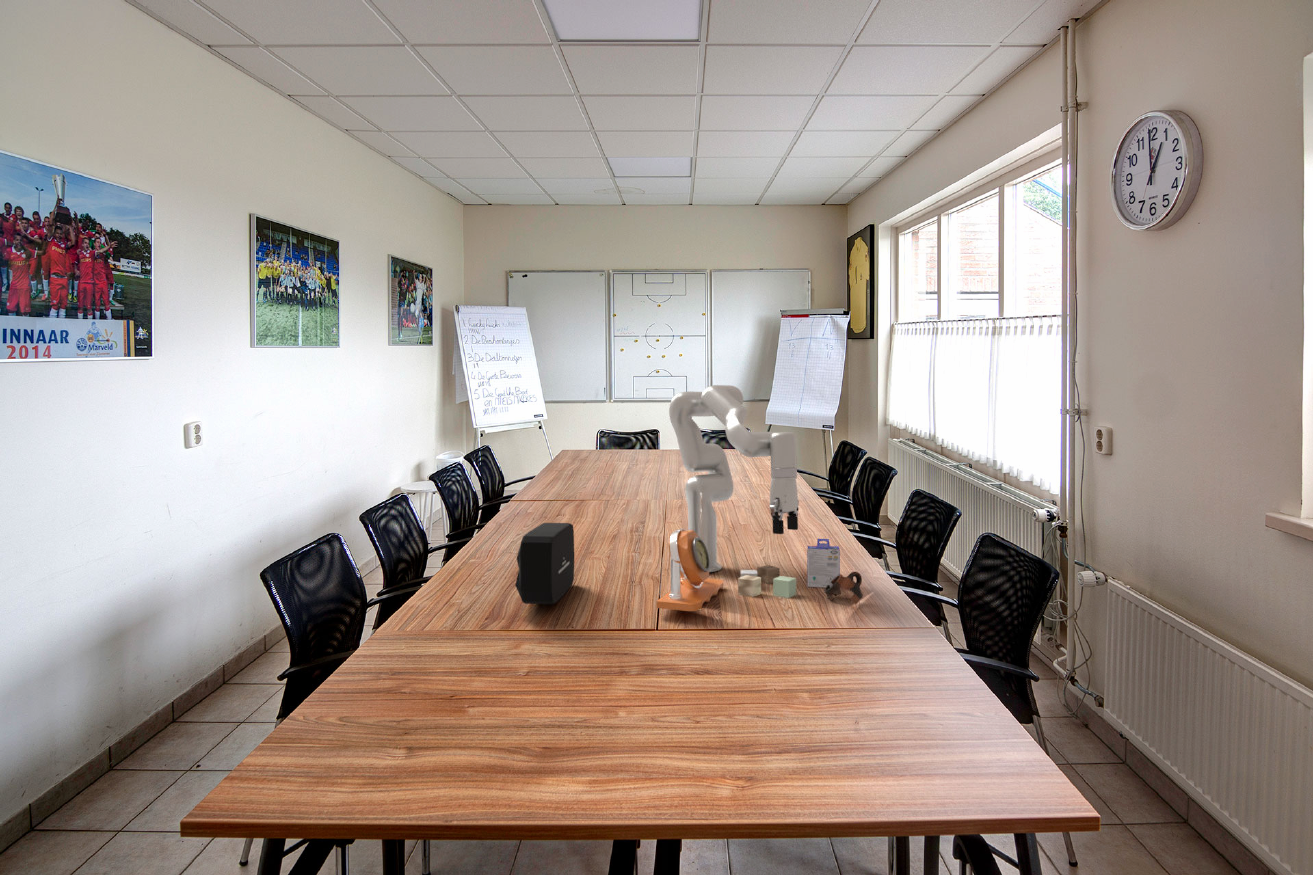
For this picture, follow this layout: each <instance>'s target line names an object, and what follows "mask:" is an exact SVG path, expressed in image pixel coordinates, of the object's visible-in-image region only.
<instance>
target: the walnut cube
mask: <svg viewBox="0 0 1313 875" xmlns="http://www.w3.org/2000/svg"><path fill="white" fill-rule="evenodd" d="M756 570H757V577H761V583H763V582H764V584H765V585H770V584H773V579H775V578H777V577H779V576H781V575H780V574H781V573H780V570H781V569H780V567H778V566H775V565H770V564H767V565H760V566H757V567H756Z"/></svg>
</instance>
